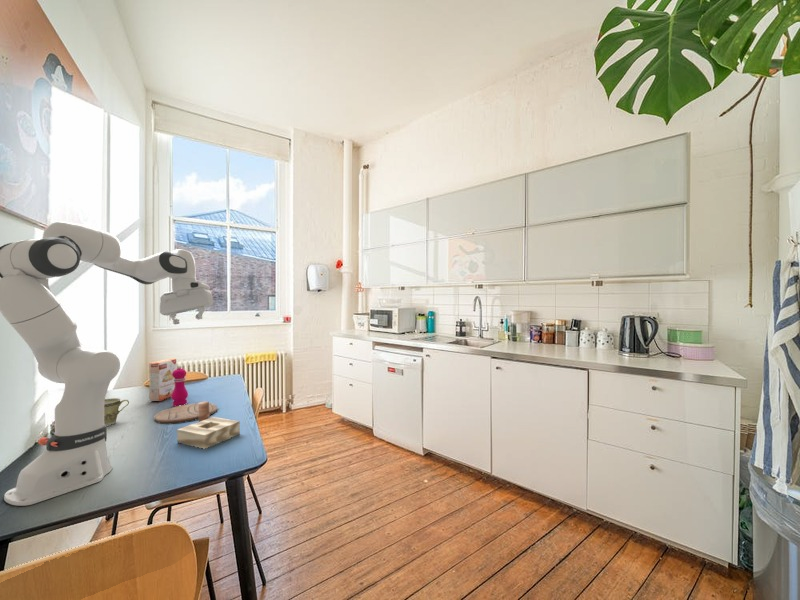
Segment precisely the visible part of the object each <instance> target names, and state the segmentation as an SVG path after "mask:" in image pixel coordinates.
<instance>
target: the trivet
mask: <svg viewBox="0 0 800 600" xmlns="http://www.w3.org/2000/svg"><path fill="white" fill-rule="evenodd" d="M198 403H199V402H196V403H188V404H185V405H181V406H173V407H169V408H166V409H163V410H161V411H159V412H157V413H156V414H155V415H154V422H156V423H158V422H160V423H159V424H164V423H172V424H180V423H179V422H183V423H186V422H185V421H189V422H192V421H191V420H194V421H196V420H195V419H198V420H199V413H198ZM217 411H218V406H217V404H215V403H210V402H209V415H210V416H211V414H212V415H214V414H215V413H217ZM214 412H215V413H214ZM213 413H214V414H213Z"/></svg>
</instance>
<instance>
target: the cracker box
mask: <svg viewBox="0 0 800 600" xmlns="http://www.w3.org/2000/svg"><path fill="white" fill-rule="evenodd" d="M148 366H149V370H148V371H149V372H148V374H149V380H148V381H149V383H148V384H149V386H148V387H149V388H148V389H149V402H150V401H160V402H162V401H164V399H165V400H167V399H170V398H171V396H172V393H173V390H174V388H175V382H174V379H175V378H174V377H173V371H174V370H176V369H177V359H176V358H166V359H163V360H158V361H153V362H152V361H151V362H149V365H148ZM169 397H170V398H169ZM166 398H167V399H166Z"/></svg>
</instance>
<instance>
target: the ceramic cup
mask: <svg viewBox="0 0 800 600" xmlns="http://www.w3.org/2000/svg"><path fill="white" fill-rule="evenodd" d="M124 402H127V403H126V405H125V406H123V407H122V408H121V409H120V408H119V407H120V406H121V405H122V403H124ZM129 403H130V401H129V400H128V399H122V400H121V398H118V397H117V398H116V397H114V398H113V397H112V398H105V402H104V424H106V427H108V426H107V425H109V426H112V425H115V424H117V423H116V422H117V417H118V415H119V414H120V413H121V412H122V411H123V410H124V409H125V408H126V407H127V406H128V405H129ZM119 409H120V410H119ZM114 423H115V424H114ZM111 424H112V425H111Z"/></svg>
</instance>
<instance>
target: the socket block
mask: <svg viewBox="0 0 800 600" xmlns="http://www.w3.org/2000/svg"><path fill="white" fill-rule="evenodd" d="M240 426H241V425H240V421H239V420H233V419H227V418H224V417H223V418H222V417H217V416H212V417H210V418H209V419H206V420H203V421H200V422H199V421H198V422H194V423H191V424H189V425H186V426H183V427H181V428H177V429H176V432H177V434H176V437H177V440H176V441H177V442H179V443H178V444H180V443H183V444H182V445H185V444H187V445H186V446H189V445H191V446H190V447H193V446H195V447H194V448H197V447H199V448H198V449H201V448H203V449H202V450H206V449H208V447H209V448H211V447H213V446H216V445H218V444H220V443H222V441H223V442H224V441H227V440H229V439H231V437H232V438H234V437H236V436H238V435H240V434H241V430H240V429H241V427H240ZM217 443H218V444H217ZM215 444H216V445H215ZM212 445H213V446H212ZM210 446H211V447H210ZM205 448H206V449H205Z"/></svg>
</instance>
